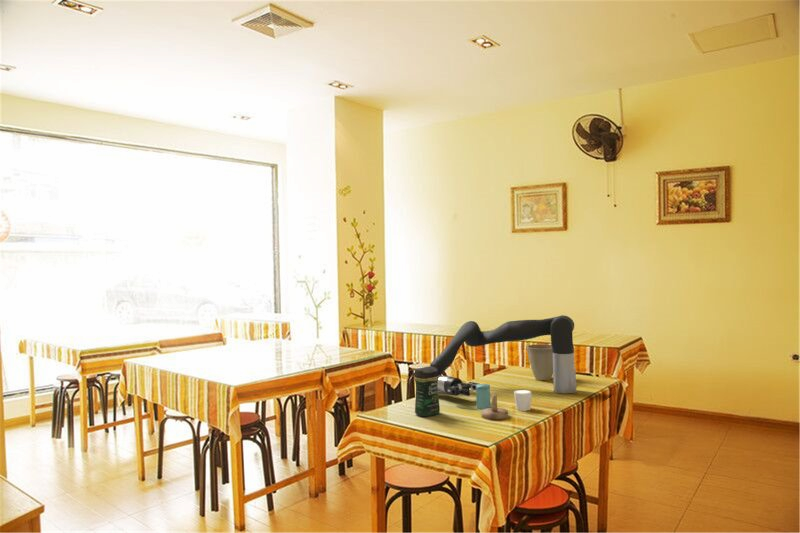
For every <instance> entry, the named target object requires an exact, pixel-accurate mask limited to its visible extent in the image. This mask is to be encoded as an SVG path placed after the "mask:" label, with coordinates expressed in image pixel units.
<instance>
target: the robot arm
mask: <svg viewBox="0 0 800 533" xmlns="http://www.w3.org/2000/svg"><path fill="white" fill-rule="evenodd" d="M574 329H575V322H574V320H573V319H572V318H571V317H569V316H568V315H564V314H563V315H562V314H561V315H558V316H554V317H550V318H544V319H542V318H541V319H522V320H521V319H520V320H510V321H506V322H504V323H503V324H500V325H499V326H498V327H496V328H495V329H492V330H486V331H483V330H481V327H480V326H479V324H478V323H477V322H476V321H472V320H470V321H466V322H465V323H464V324H462V325H461V326H460V328H459V329H458V331H457V332H456V333H455V335H454V336H453V337H452V339H451V340H450V341H449V342H448V344H447V345H446V346H445V348H444V349H443V350H442V351H441V352H440V354H438V355H437V356H436V357H435V358H434V360H432V361H431V362H430V364H429V366H432V367H436V368H437V369H438V375H439V378H438V383H437V387H438V392H441V393H443V394H446V395H451V396H456V397H457V396H459V395H460V396H462V395H463V396H466V397H470V396H471V393H472V392H476V385H477V384H480V383H479V382H473V381H469V382H464V381H462V379H460V378H458V377H454V376H449V375H443V374H444V372H446V371H447V369H449V367H450V366H451V365H452V364H453V363H454V361H455V360H456V359H455V358H456V357H457V354H458V352H459V351H460V348H461V347H462V346H463V344H464V343H465V344H466V345H467V346H468V347H481V346H487V345H491V344H497V343H506V342H518V341H519V342H520V341H527V340H531V339H535V338H539V337H542V336H550V345H551V346H552V355H553V375H552V377H553V392H555V393H558V394H572V393H573V394H574V393H577V372H576V369H575V347H574V341H573V340H574V339H573V332H574Z"/></svg>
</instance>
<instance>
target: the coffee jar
mask: <svg viewBox="0 0 800 533" xmlns="http://www.w3.org/2000/svg"><path fill="white" fill-rule="evenodd" d="M413 376H414V377H413V379H414V382H415V403H414V414H416V415H417V416H418V417H432V416H434V415H438V414H439V413H440V412H441V410H440V400H439V399H440V397H439V391H438V387H437V383H438V378H439V375H438V369H437V368H436V367H432V366H430V365H429V366H425V367H420V368H416V369H414V375H413Z"/></svg>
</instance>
